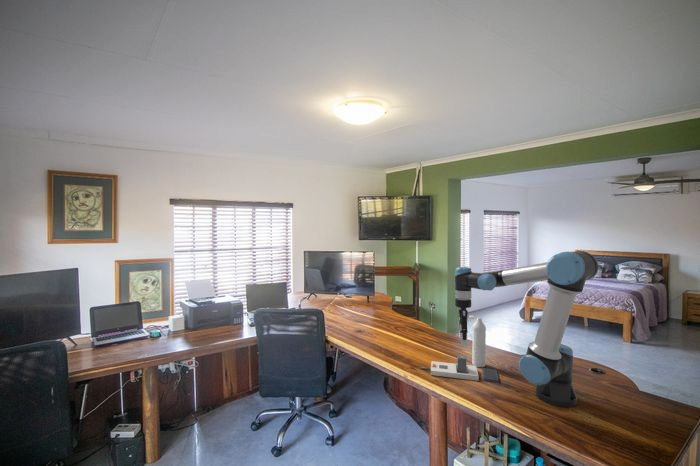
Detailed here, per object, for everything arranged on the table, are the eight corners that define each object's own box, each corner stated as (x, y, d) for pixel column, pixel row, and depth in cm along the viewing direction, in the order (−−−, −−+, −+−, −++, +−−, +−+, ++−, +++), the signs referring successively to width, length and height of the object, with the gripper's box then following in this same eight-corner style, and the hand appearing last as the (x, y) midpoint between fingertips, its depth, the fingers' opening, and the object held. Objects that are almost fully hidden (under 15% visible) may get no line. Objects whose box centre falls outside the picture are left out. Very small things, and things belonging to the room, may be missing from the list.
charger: (465, 371, 168) (465, 355, 168) (466, 375, 165) (466, 358, 164) (457, 370, 170) (457, 354, 169) (457, 374, 166) (457, 357, 165)
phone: (496, 373, 169) (496, 369, 169) (498, 383, 158) (498, 379, 158) (482, 371, 171) (482, 367, 171) (483, 381, 160) (483, 377, 160)
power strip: (476, 370, 171) (476, 364, 171) (478, 380, 159) (478, 374, 159) (420, 364, 178) (420, 358, 178) (419, 373, 167) (419, 367, 166)
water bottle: (487, 365, 177) (488, 317, 177) (481, 368, 173) (482, 320, 172) (471, 360, 184) (472, 314, 183) (465, 363, 179) (466, 316, 179)
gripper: (454, 293, 179) (454, 333, 179) (456, 303, 155) (456, 349, 155) (469, 294, 177) (469, 334, 177) (473, 304, 153) (473, 350, 153)
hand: (463, 341), depth 166 cm, fingers open, 13 cm apart
